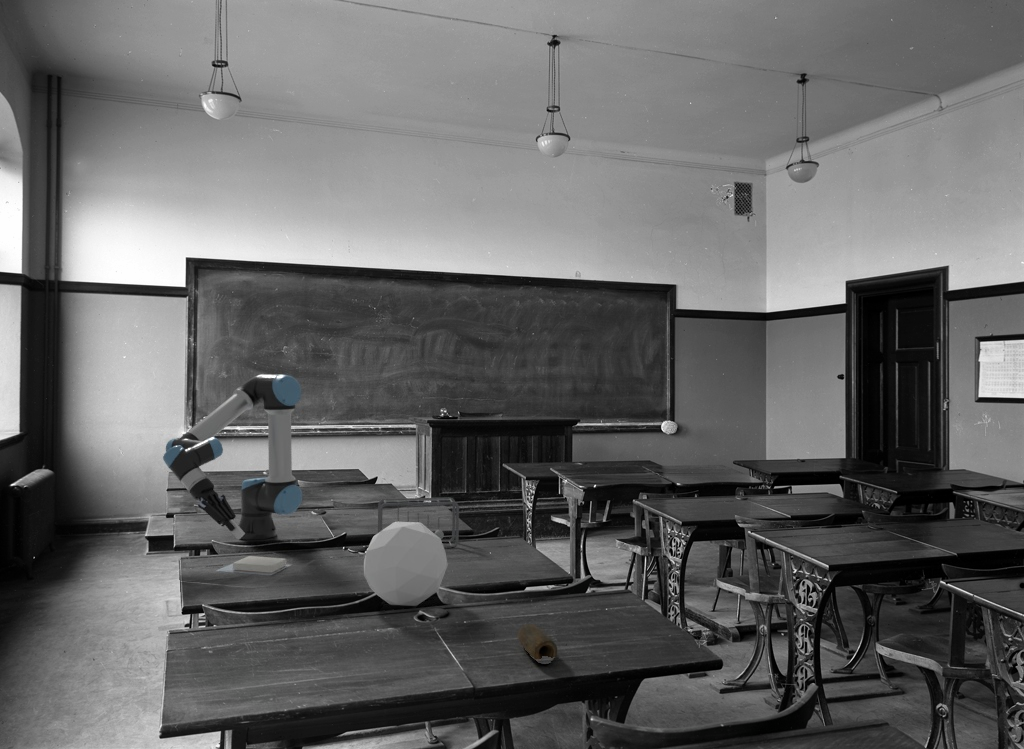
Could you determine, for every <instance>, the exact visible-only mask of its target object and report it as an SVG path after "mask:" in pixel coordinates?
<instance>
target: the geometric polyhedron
mask: <svg viewBox="0 0 1024 749" xmlns="http://www.w3.org/2000/svg"><path fill="white" fill-rule="evenodd" d="M434 533H435V532H433V531H431V530H430V529H429V527H428V526H426V525H424V524H423V523H422V522H420V521H419V522H418V521H416V522H413V521H409V522H408V521H399V522H398V521H397V522H395V521H393V522H392V523H391V524H390V525H388V526H386V527H385V528H382V531H381V532H379V533H378V532H377V533H376V534H375V535H374V536H373V537H372V539H371V540H370V543H369V545H368V547H367V550H366V551H365V552H366V553H365V556H364V559H363V577H364V578H365V581H366V582H367V584H368V587H369V588H370V589H371V590H372V591H373V593H375V594H376V596H378V597H380V599H382V600H383V601H385V602H386V603H387V604H389V605H391V606H410V607H411V606H412V607H417V606H418V605H419V604H421V603H422V602H424V601H425V600H427V599H429V598H430V597H431V596H433V595H434V594H436V593H437V592H438V591H439V590H440V587H441V584H442V582H443V580H444V576H445V573H446V571H447V568H448V566H449V565H448V560H447V559H448V558H447V554H446V550H445V548H444V547H443V545H444V543H442V541H441V540H442V539H440V538H439V537H438V536H437V535H435V534H434Z"/></svg>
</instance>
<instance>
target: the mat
mask: <svg viewBox="0 0 1024 749" xmlns="http://www.w3.org/2000/svg"><path fill="white" fill-rule="evenodd" d="M291 566H292V564H287V563H286V566H285V567H283V568H281V569H279V570H277V571H275V572H273V573H261V572H249V571H237V570H233V563H231V564H228V565H226V566H223V567H221V568H218V569H217V570H215V572H221V573H223V572H225V573H236V574H246V575H247V574H250V575H260V576H261V575H262V576H270V577H271V576H273V575H275V574H277V573H279V572H281V571H282V570H285V569H287V568H289V567H291Z"/></svg>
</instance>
